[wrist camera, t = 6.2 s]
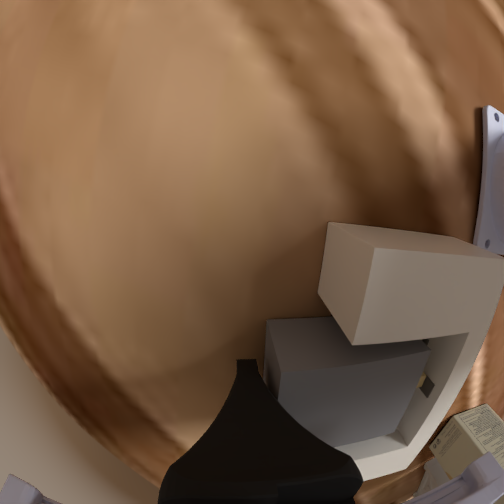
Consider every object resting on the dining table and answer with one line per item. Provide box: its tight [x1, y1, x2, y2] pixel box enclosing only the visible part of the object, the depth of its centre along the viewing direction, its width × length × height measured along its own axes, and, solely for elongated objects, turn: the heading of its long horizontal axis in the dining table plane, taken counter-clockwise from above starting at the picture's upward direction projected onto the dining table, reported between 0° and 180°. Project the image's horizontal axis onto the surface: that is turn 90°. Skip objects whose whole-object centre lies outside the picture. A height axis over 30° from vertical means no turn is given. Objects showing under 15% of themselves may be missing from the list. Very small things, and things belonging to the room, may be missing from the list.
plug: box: [263, 316, 431, 447], centre depth 11 cm, size 7×5×4 cm
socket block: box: [318, 222, 504, 481], centre depth 11 cm, size 7×13×4 cm, turn 175°
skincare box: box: [429, 404, 504, 504], centre depth 11 cm, size 6×4×12 cm
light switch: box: [413, 457, 450, 498], centre depth 16 cm, size 2×12×8 cm, turn 18°
